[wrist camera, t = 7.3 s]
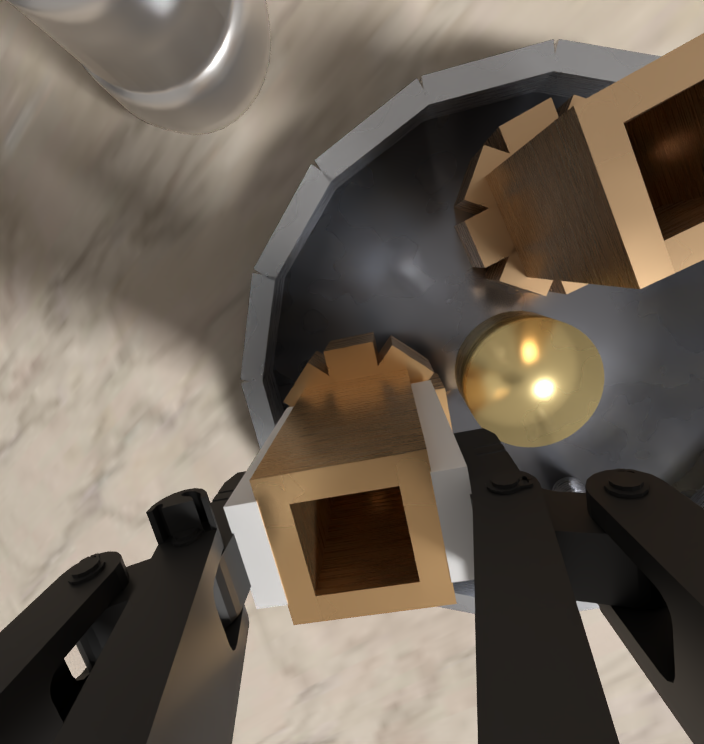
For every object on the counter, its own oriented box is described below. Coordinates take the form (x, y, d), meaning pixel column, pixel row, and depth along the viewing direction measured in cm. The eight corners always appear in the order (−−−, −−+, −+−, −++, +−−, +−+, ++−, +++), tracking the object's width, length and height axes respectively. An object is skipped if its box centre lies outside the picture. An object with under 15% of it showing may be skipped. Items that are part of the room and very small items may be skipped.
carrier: (322, 600, 23) (303, 709, 18) (196, 158, 18) (112, 111, 12) (772, 538, 21) (921, 642, 15) (782, 0, 15) (1018, -152, 10)
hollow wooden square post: (314, 483, 19) (258, 671, 10) (279, 351, 18) (179, 439, 9) (452, 460, 18) (518, 640, 10) (427, 320, 17) (477, 382, 8)
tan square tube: (493, 314, 18) (602, 365, 9) (430, 173, 17) (488, 76, 8) (640, 243, 17) (924, 223, 8) (585, 87, 16) (849, -137, 7)
